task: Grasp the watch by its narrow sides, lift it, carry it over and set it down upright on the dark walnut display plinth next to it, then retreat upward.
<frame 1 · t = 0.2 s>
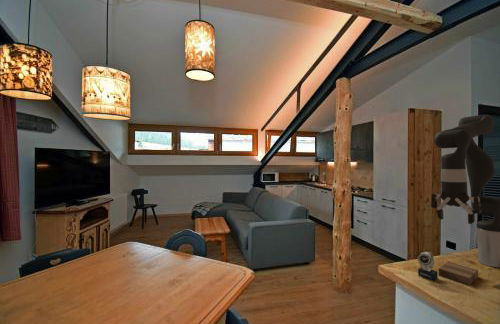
hand: (455, 221, 85), 28 cm above the table, fingers open, 8 cm apart
watch: (427, 277, 96), on the table
plinth: (458, 275, 96), on the table
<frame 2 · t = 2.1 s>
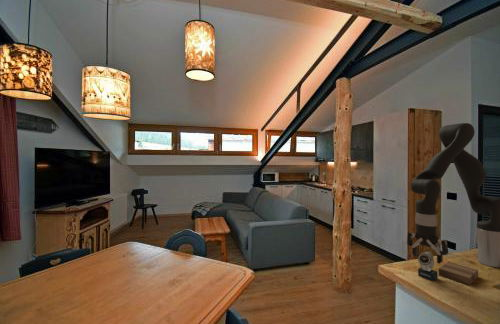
hand: (426, 259, 96), 8 cm above the table, fingers open, 8 cm apart
nothing on the table moved.
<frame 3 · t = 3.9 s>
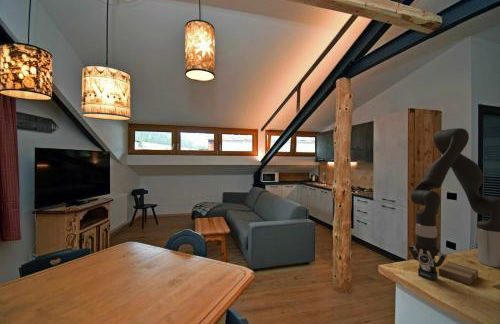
hand: (427, 272, 96), 2 cm above the table, fingers closed on watch, 3 cm apart
watch: (427, 277, 96), on the table, touching gripper
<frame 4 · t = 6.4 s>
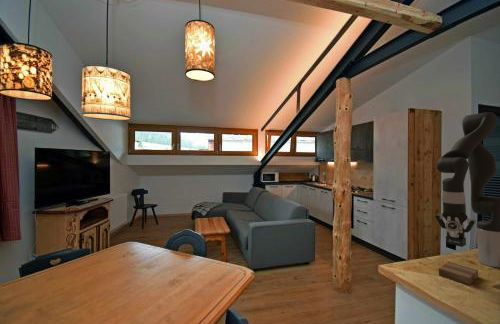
hand: (455, 239, 97), 16 cm above the table, fingers closed on watch, 3 cm apart
watch: (456, 244, 97), point 14 cm above the table, touching gripper
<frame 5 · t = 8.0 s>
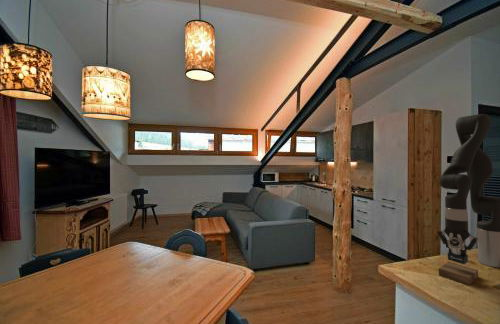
hand: (457, 256, 96), 9 cm above the table, fingers closed on watch, 3 cm apart
watch: (457, 261, 96), point 7 cm above the table, touching gripper
when the fingers open (7 cm above the table, at t = 8.8 s): watch drops 1 cm, resting on plinth.
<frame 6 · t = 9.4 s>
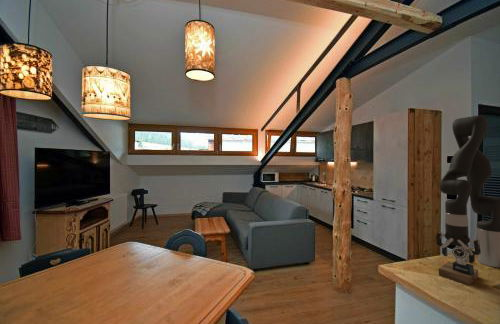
hand: (457, 259, 96), 8 cm above the table, fingers open, 8 cm apart
watch: (463, 271, 94), point 3 cm above the table, touching gripper, plinth
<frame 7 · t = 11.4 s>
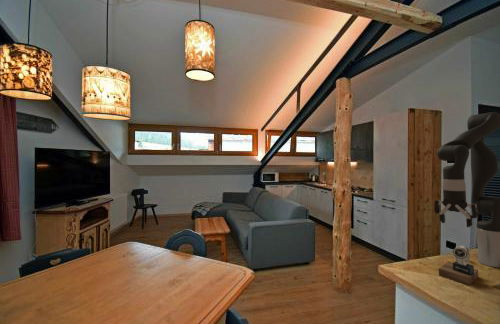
hand: (455, 224, 97), 23 cm above the table, fingers open, 8 cm apart
watch: (463, 271, 94), point 3 cm above the table, touching plinth
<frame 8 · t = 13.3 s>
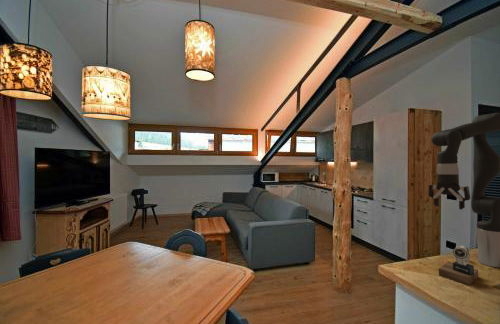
hand: (448, 207, 100), 30 cm above the table, fingers open, 8 cm apart
nothing on the table moved.
at the end: watch inside the target area on the plinth (2.0 cm from its centre), point 2.8 cm above the plinth's base; watch tilted 0°; the gripper is holding nothing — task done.
